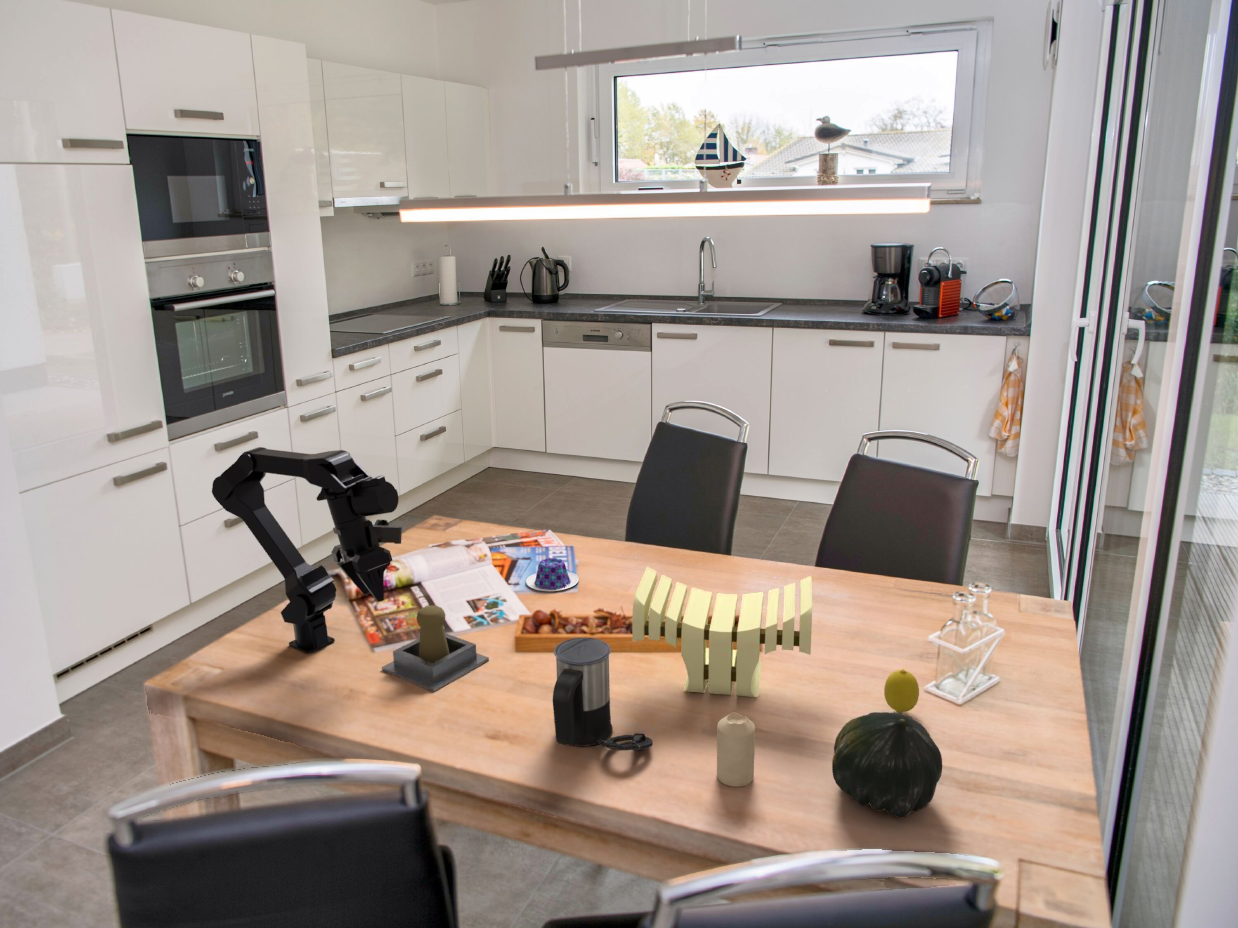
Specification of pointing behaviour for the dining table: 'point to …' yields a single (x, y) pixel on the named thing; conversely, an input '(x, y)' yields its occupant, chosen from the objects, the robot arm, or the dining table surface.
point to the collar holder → (435, 663)
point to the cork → (432, 634)
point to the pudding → (552, 576)
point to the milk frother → (586, 697)
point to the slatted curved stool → (721, 631)
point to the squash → (887, 762)
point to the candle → (735, 750)
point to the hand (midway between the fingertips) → (373, 597)
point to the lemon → (901, 691)
